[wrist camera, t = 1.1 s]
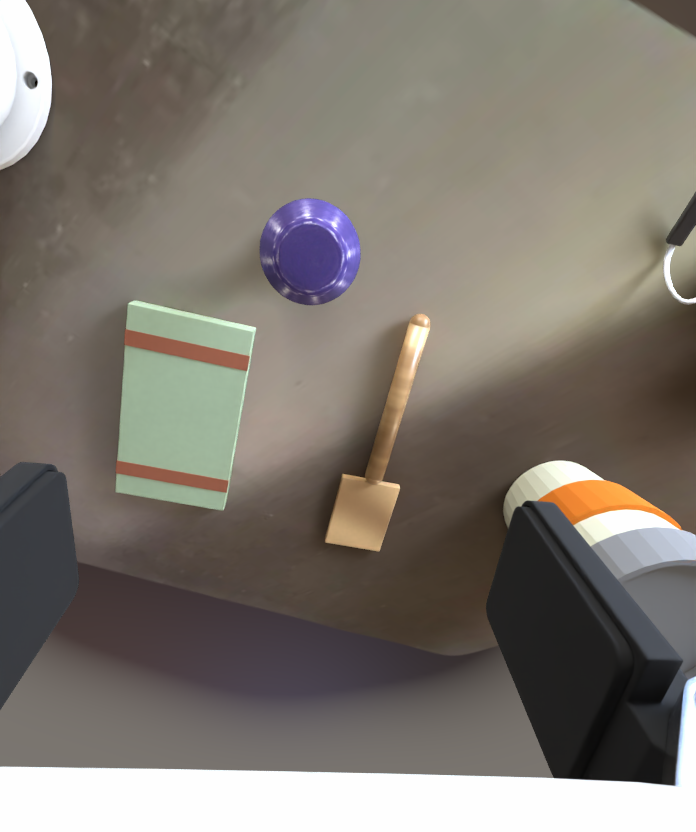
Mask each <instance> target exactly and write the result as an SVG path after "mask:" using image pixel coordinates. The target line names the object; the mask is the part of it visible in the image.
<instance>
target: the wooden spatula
mask: <svg viewBox="0 0 696 832" xmlns="http://www.w3.org/2000/svg"><path fill="white" fill-rule="evenodd" d="M429 329H430V320H429V318H428V317H427V316H426V315H424V314H417V315H414V316H413V317H412V318H411V320H410V322H409V326H408V329H407V332H406V336H405V339H404V343H403V346H402V349H401V353H400V356H399V360H398V363H397V367H396V370H395V373H394V377H393V380H392V384H391V387H390V390H389V394H388V397H387V401H386V404H385V407H384V411H383V414H382V418H381V421H380V425H379V428H378V431H377V435H376V438H375V442H374V445H373V448H372V452H371V455H370V459H369V462H368V466H367V469H366V472H365V478H362V477H357V476H352V475H346V474H342V477H341V481H340V485H339V488H338V492H337V496H336V499H335V503H334V507H333V510H332V514H331V518H330V521H329V525H328V529H327V532H326V536H325V542H326V543H332V544H338V545H344V546H350V547H356V548H362V549H368V550H374V551H380V548H381V545H382V542H383V539H384V536H385V533H386V529H387V526H388V523H389V520H390V517H391V514H392V511H393V508H394V505H395V502H396V499H397V496H398V493H399V490H400V487H399V484H394V483H389V482H383V481H382V480H383V477H384V474H385V471H386V468H387V464H388V461H389V458H390V455H391V452H392V448H393V445H394V442H395V439H396V435H397V432H398V429H399V426H400V423H401V419H402V416H403V413H404V410H405V406H406V403H407V400H408V397H409V394H410V390H411V387H412V384H413V381H414V377H415V374H416V371H417V368H418V365H419V361H420V358H421V355H422V352H423V349H424V345H425V342H426V339H427V336H428V332H429Z"/></svg>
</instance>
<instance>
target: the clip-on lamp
mask: <svg viewBox="0 0 696 832" xmlns="http://www.w3.org/2000/svg"><path fill="white" fill-rule="evenodd" d="M695 225H696V192H695V194H694V196H693V197H692V199H691V200H690V202H689V203H688V205H687V207H686V208H685V210H684V211H683V213H682V214H681V216H680V218H679V219H678V221H677V222H676V224H675V225H674V227H673V229H672V230H671V232H670V233H669V235H668V236H667V238H666V242H667V243H668V244H669V246H668V248H667V250H666V253H665V257H664V263H663V272H664V279H665V282H666V285H667V288H668V290H669V292H670V293H671V295H672V296H673V298H675V299H676V300H677V301H679V302H680V303H683V304H687V305H688V304H693V303H696V297H695V298H693V299H690V300H686V299H682V298H681V297H680V296H679V295H678V294H677V293H676V291H675V289H674V288H673V285H672V282H671V279H670V270H669V268H670V259H671V256H672V253H673V250H674V248H675V246H676V245H677V246H681V245H682V244H683V243H684V241H685V240H686V238H687V237H688V235H689V234H690V232H691V231H692V229H693V228H694V226H695Z"/></svg>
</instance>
